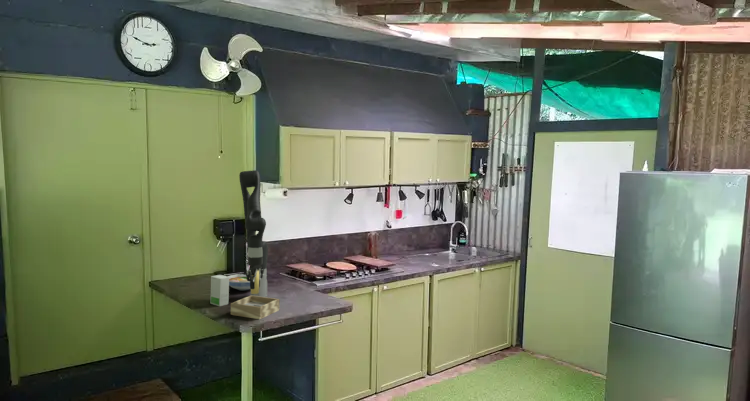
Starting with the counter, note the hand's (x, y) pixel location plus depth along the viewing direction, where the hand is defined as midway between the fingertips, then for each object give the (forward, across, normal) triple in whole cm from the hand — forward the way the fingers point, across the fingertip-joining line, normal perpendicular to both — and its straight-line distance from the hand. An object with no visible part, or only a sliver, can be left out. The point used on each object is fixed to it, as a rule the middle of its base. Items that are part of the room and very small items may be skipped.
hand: (254, 287), depth 274 cm
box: (+13, 0, 0) cm, 13 cm away
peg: (+3, 0, 0) cm, 3 cm away
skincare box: (+13, -5, -27) cm, 30 cm away
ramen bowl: (+13, -38, -35) cm, 53 cm away
